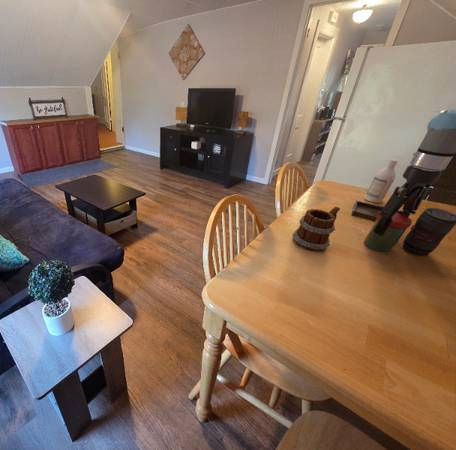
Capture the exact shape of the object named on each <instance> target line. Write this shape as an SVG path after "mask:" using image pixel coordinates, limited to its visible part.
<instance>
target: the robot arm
mask: <svg viewBox="0 0 456 450" xmlns="http://www.w3.org/2000/svg"><path fill="white" fill-rule="evenodd" d="M426 129H427V131H426V134H425V135H424V137H423V139H422V140H421V142H420V145H419V146H418V148H417V150H416V152H413V153H412V155H413V157H412V159H411V160H410V164H409V165H407V167H406V168H405V170H404V172H403V174H402V177H403V178H404V179H405V180H406V181H405V182H404V184H402V186H396V187H395V188H394V191H393V193H392V195H390V197H389V199H388V200H387V201H386V203H385V205H384V206H382V207H383V209H382V210H381V212H380V213H379V215H380V216H382V217H381V219H380V220H379V222H378V224H377V226H376V227H375V229H374V231H373V232H374V233H376V234H378V235H381V236H383V235H384V233H385V231H386V230H387V228H388V226H389V225H390V223H391V222H392V220H393V219H392V217H393V216H394V215H395V214H396V213H397V211H399V214H402V215H405V216H407V217H408V218H410V216H411V215H415V214H416V213H417V210H418V209H419V208H420V205H421V203H422V202H423V200H424V197H425V196H426V194H427V192H428V191H429V189H430V188H431V187H432V185H433V184H436V183H437V181H438V180H439V179H440V177H441V175H442V174H443V172H442V171H444V170H446V169H447V166H448V165H449V163H450V162H451V160H452V159H453V157H454V156H455V155H456V109H452V108H451V109H444V110H441V111H440V112H439V113H438V114H436V115H435V116H433V117H432V118H431V119H430V120H429V122H428V124H427V128H426ZM401 209H402V210H401Z"/></svg>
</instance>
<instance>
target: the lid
mask: <svg viewBox="0 0 456 450" xmlns="http://www.w3.org/2000/svg"><path fill="white" fill-rule="evenodd" d="M379 213H380V212H379ZM381 217H382V216H380V215H379V214H378V215H377V220H378V221H379V220H380V219H381ZM392 219H393V220H392V222H391V223H390V225H389V226H391V227H394V228H401V229H405V228H407V229H408V228H409V227H411V225H412V223H413V220H412V219H411V218H410V217H407V216H405V215H402V214H399V213H396V214H395V215H394V216H393V217H392Z"/></svg>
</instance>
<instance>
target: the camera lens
mask: <svg viewBox="0 0 456 450" xmlns="http://www.w3.org/2000/svg"><path fill="white" fill-rule="evenodd" d="M455 226H456V214H455V213H453V212H451V211H448V210H446V209H445V210H444V209H441V208H436V207H427V208H425V210H423V211H422V212H421V213H420V215H419V216H418V218H417V219H416V220H415V223H414V224H413V225H412V226H410V227H411V228H410V231H408V232H407V234H406V236H405V238H404V240H403V241H402V242H403V244H402V248H403V249H404V250H405V251H406V252H408V253H410V254H412V255H415V256H420V257H425V256H428V255H429V254H430V253H433V252H434V250H436V248H438V247H439V245H440V244H441V242H442V241H443V240H444V238H445V237H446V236H447V235H448V234H449V233H450V232H451V231H452V230H453V229H454V227H455Z"/></svg>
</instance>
